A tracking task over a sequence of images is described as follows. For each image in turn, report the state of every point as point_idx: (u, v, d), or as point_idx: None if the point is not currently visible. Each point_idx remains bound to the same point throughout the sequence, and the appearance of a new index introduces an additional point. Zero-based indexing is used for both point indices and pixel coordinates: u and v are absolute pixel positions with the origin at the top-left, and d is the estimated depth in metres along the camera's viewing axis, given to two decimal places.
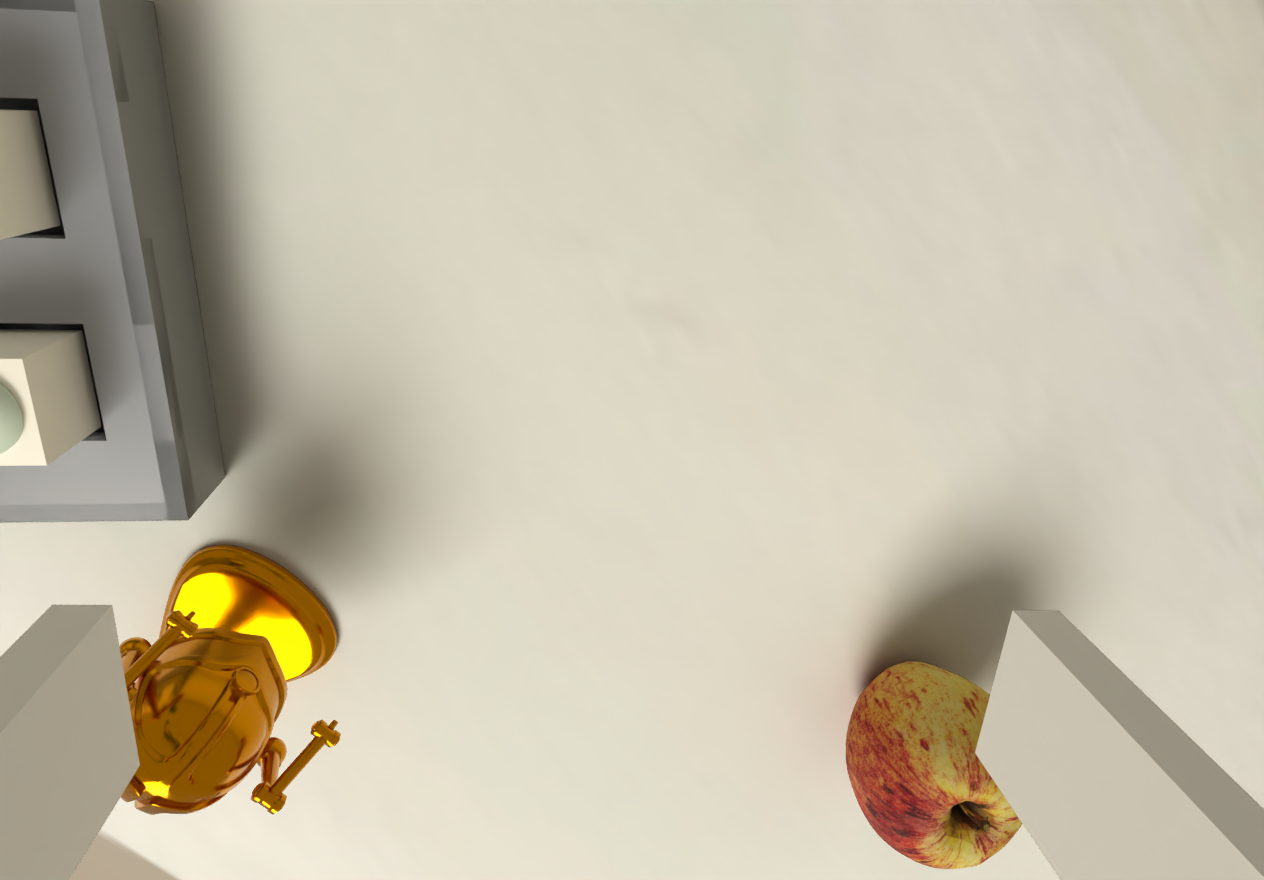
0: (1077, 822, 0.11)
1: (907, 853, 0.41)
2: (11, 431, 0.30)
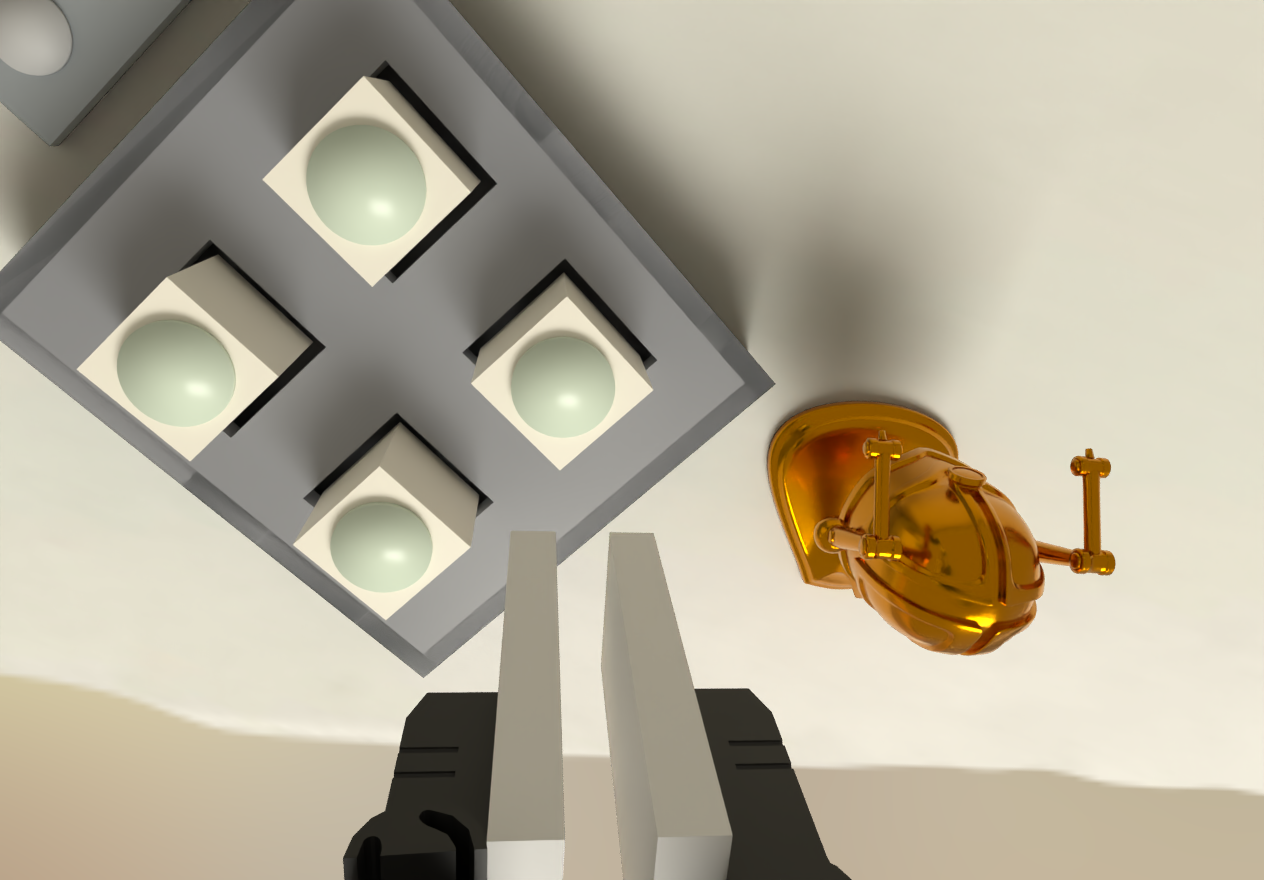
0: (615, 710, 0.13)
1: None
2: (605, 376, 0.26)
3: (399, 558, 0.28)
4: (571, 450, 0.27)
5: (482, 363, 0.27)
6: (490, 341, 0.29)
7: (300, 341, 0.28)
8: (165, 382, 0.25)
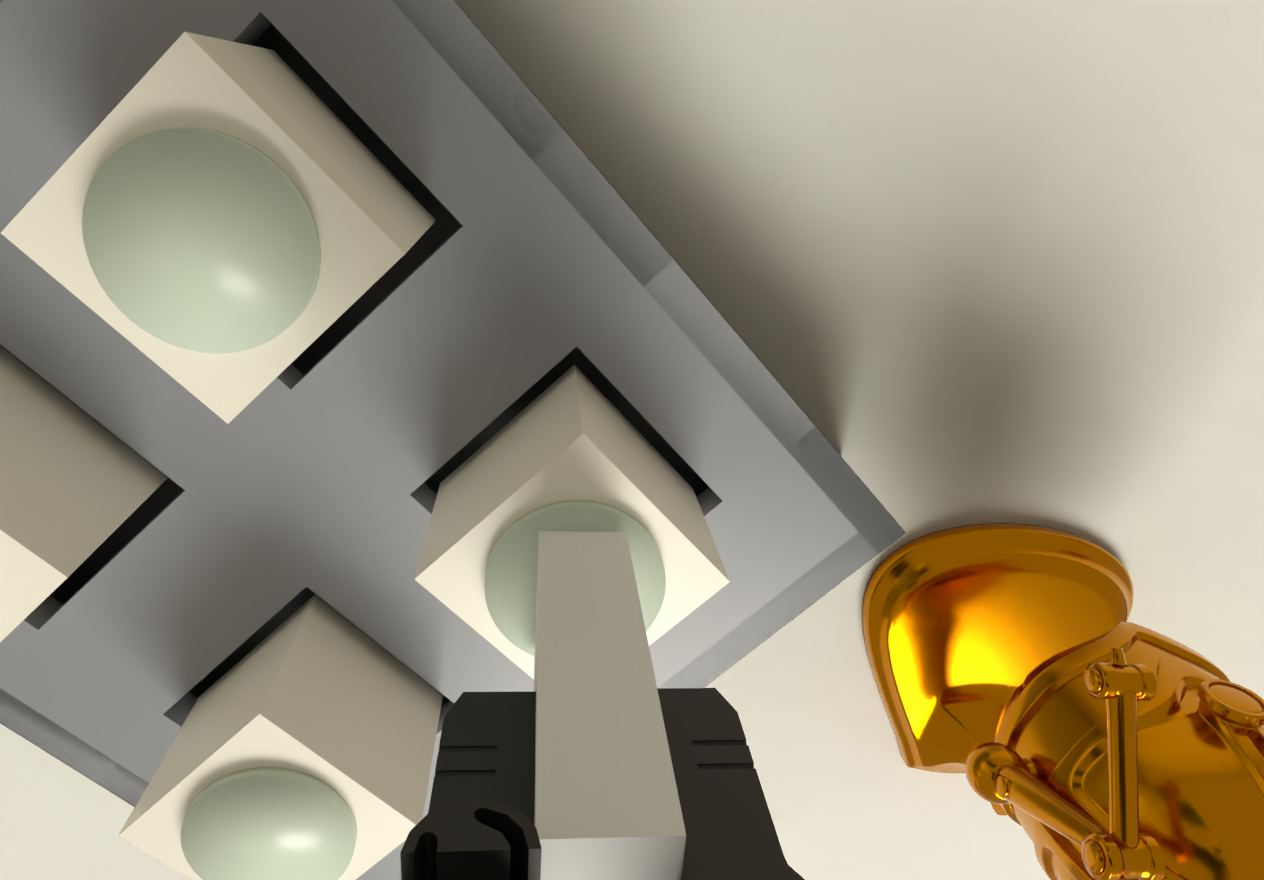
0: None
1: None
2: (649, 565, 0.15)
3: (300, 853, 0.16)
4: None
5: (437, 531, 0.16)
6: (456, 474, 0.18)
7: (139, 483, 0.17)
8: None
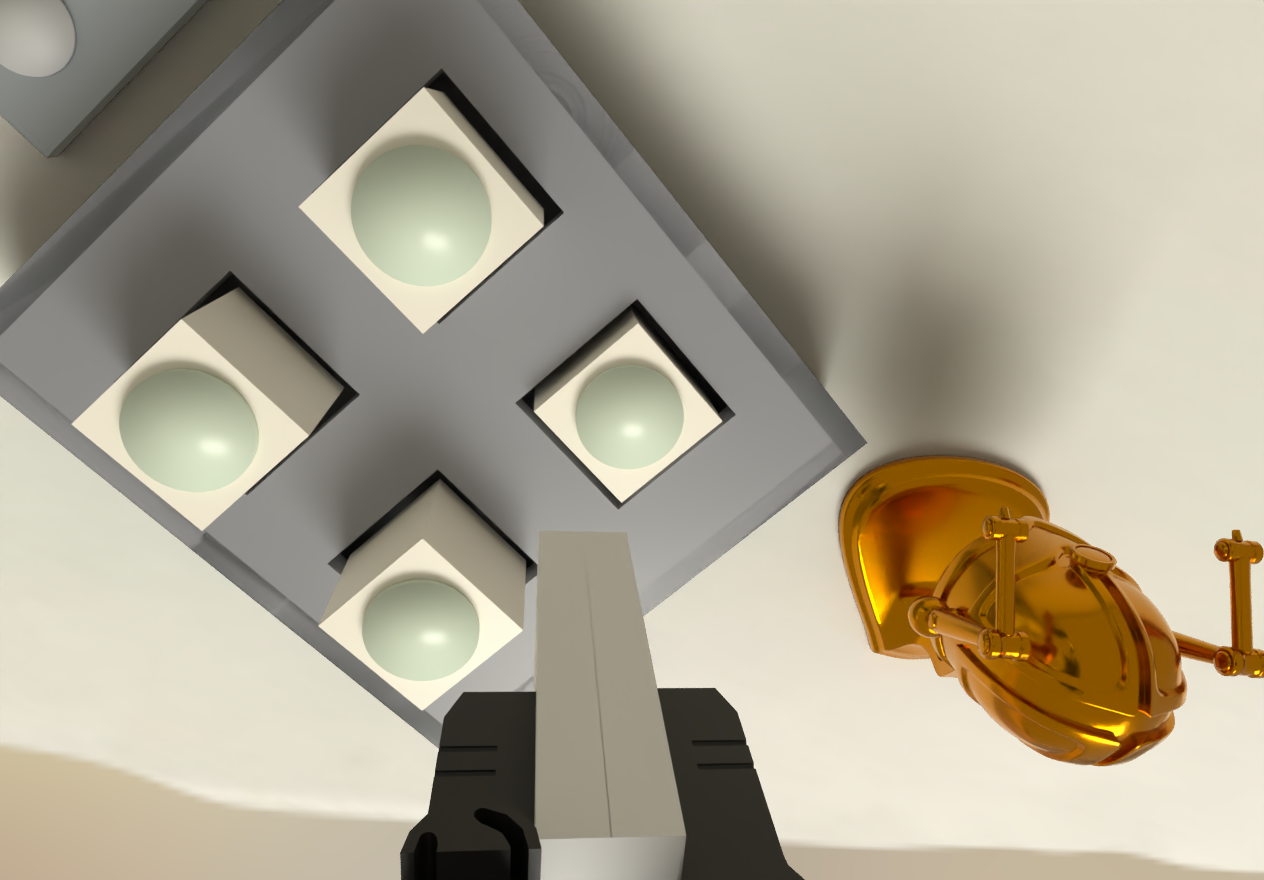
0: None
1: None
2: (674, 407, 0.25)
3: (441, 643, 0.24)
4: (634, 482, 0.26)
5: (543, 389, 0.26)
6: None
7: (331, 388, 0.25)
8: (176, 441, 0.21)
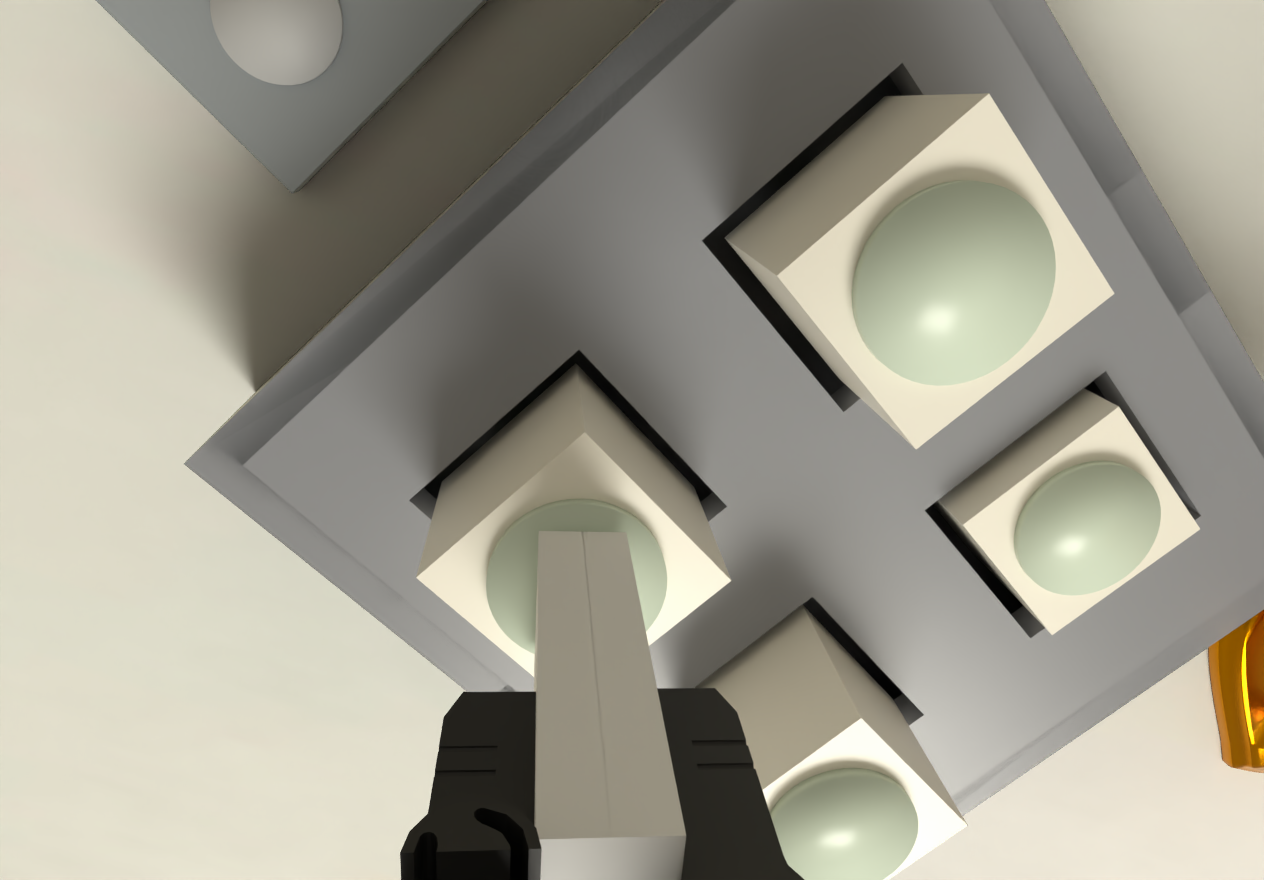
0: None
1: None
2: (1148, 514, 0.19)
3: (866, 849, 0.17)
4: (1073, 609, 0.20)
5: None
6: None
7: (691, 493, 0.18)
8: None
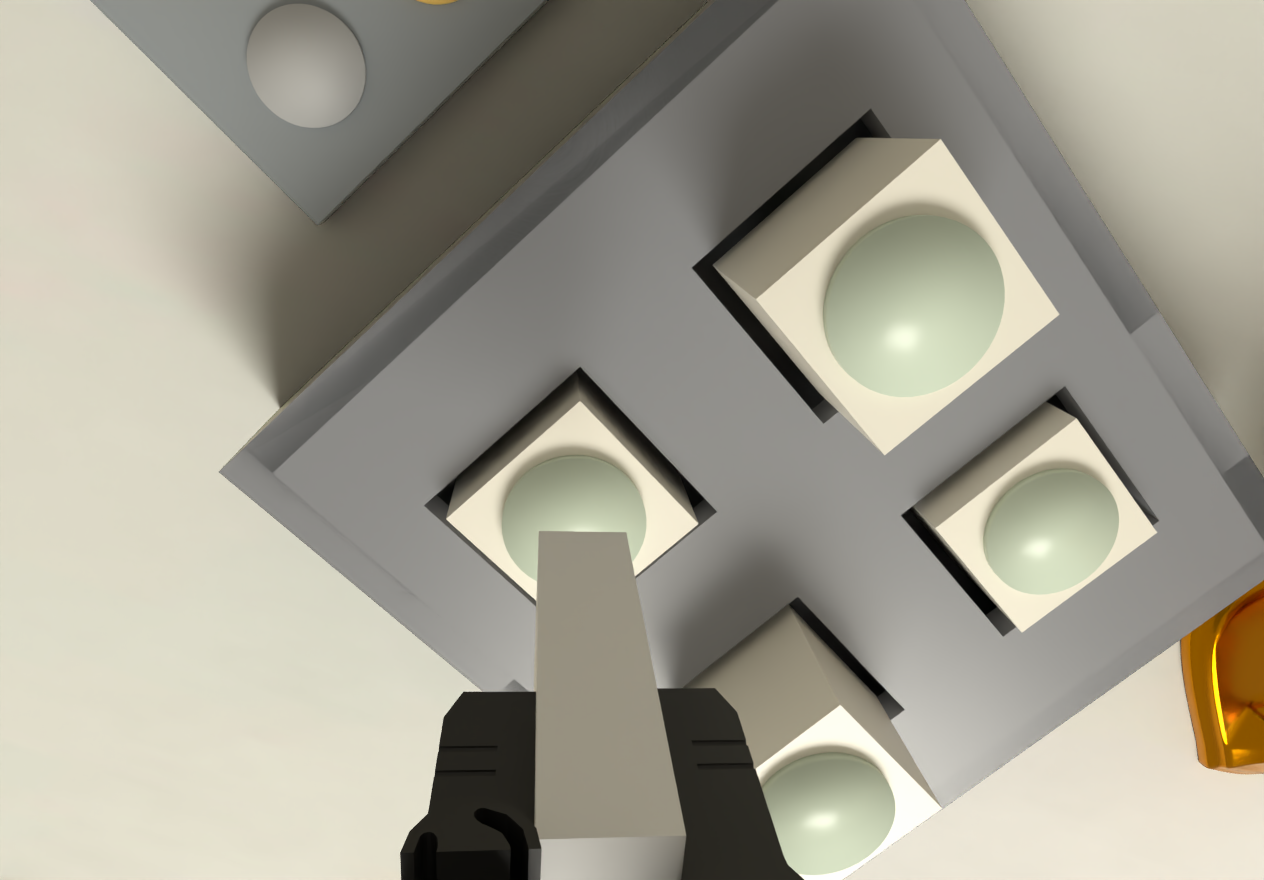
0: None
1: None
2: (1107, 518, 0.20)
3: (847, 830, 0.19)
4: (1041, 607, 0.21)
5: None
6: None
7: (670, 462, 0.22)
8: None
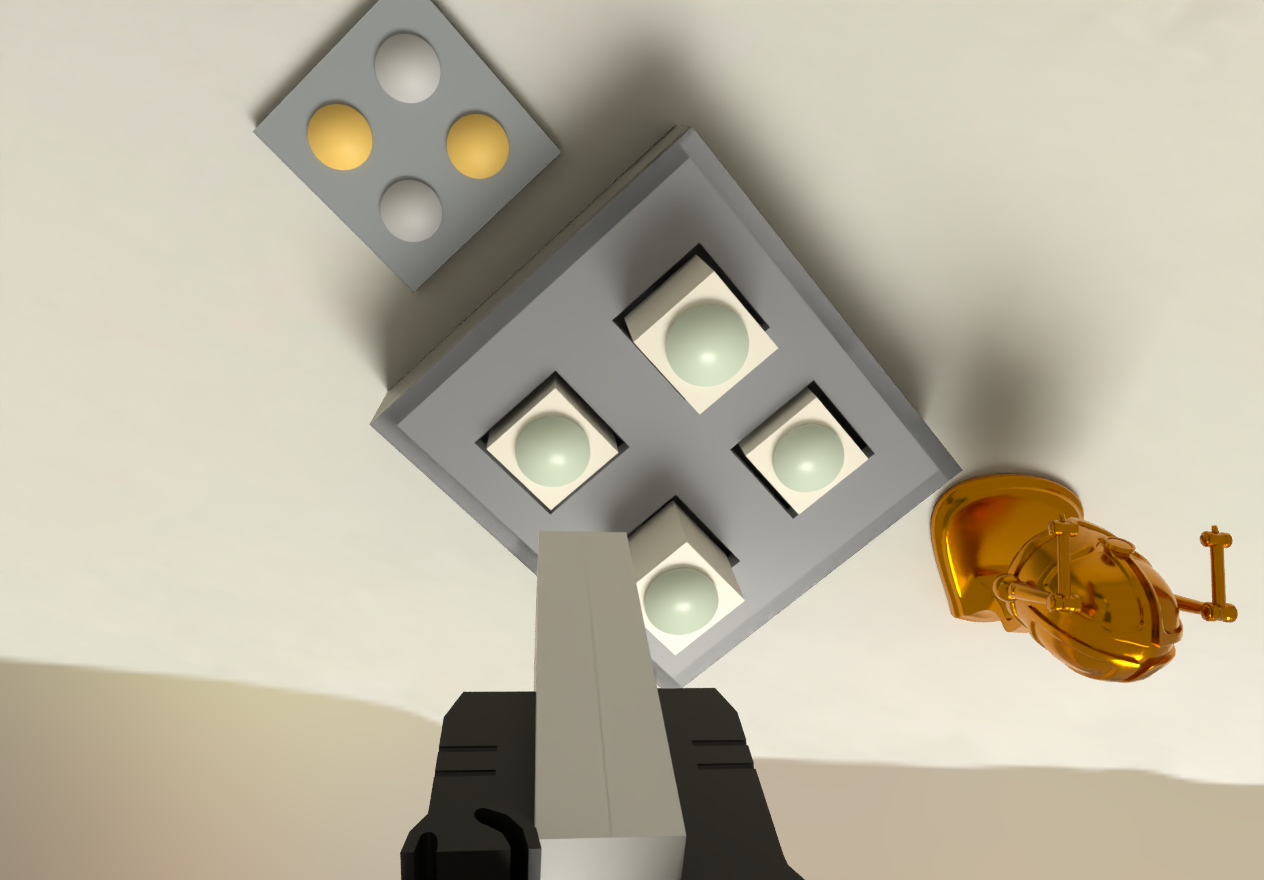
0: None
1: None
2: (838, 450, 0.38)
3: (694, 609, 0.36)
4: (808, 500, 0.39)
5: (745, 439, 0.39)
6: None
7: None
8: (545, 457, 0.36)
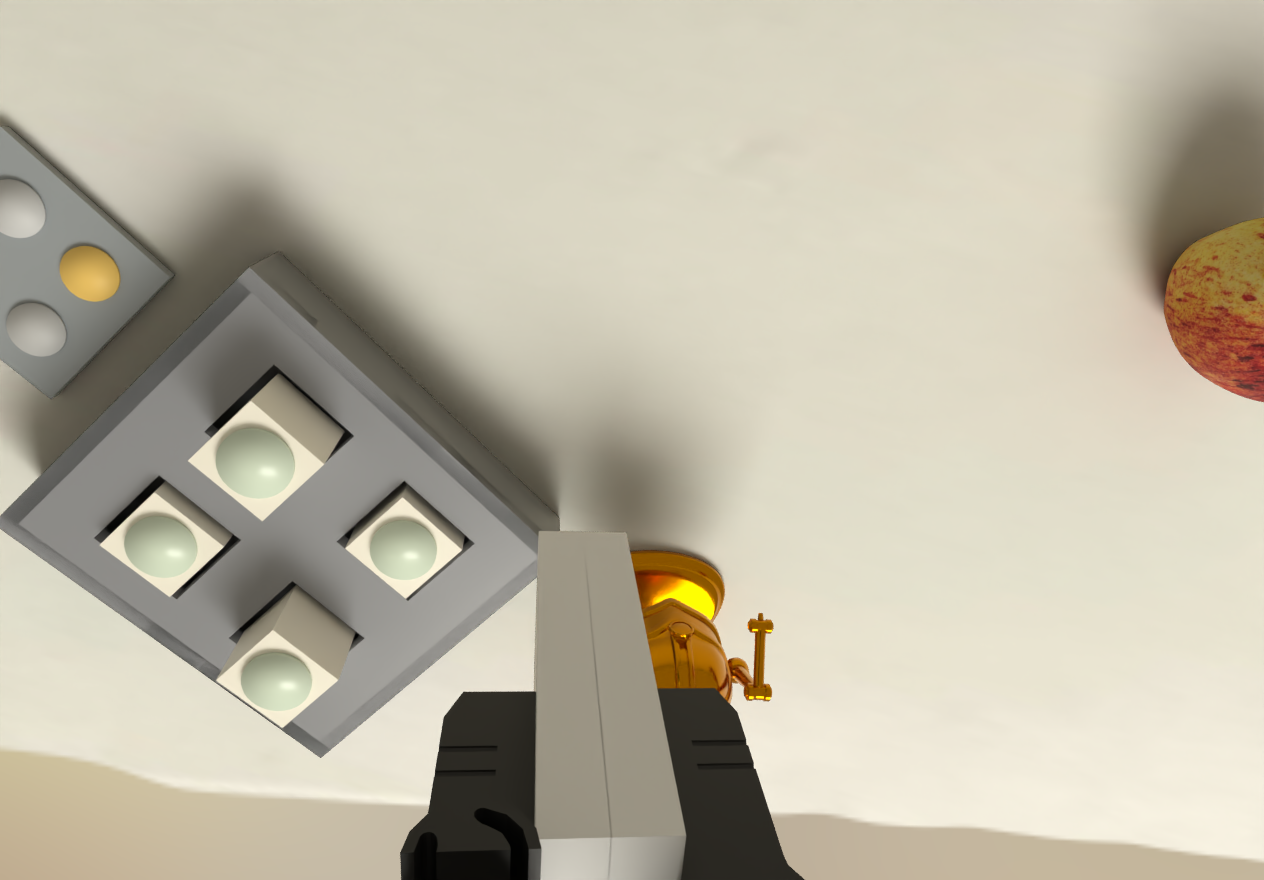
0: None
1: None
2: (429, 543, 0.42)
3: (288, 688, 0.41)
4: (412, 586, 0.43)
5: (355, 531, 0.43)
6: None
7: None
8: (153, 552, 0.40)
